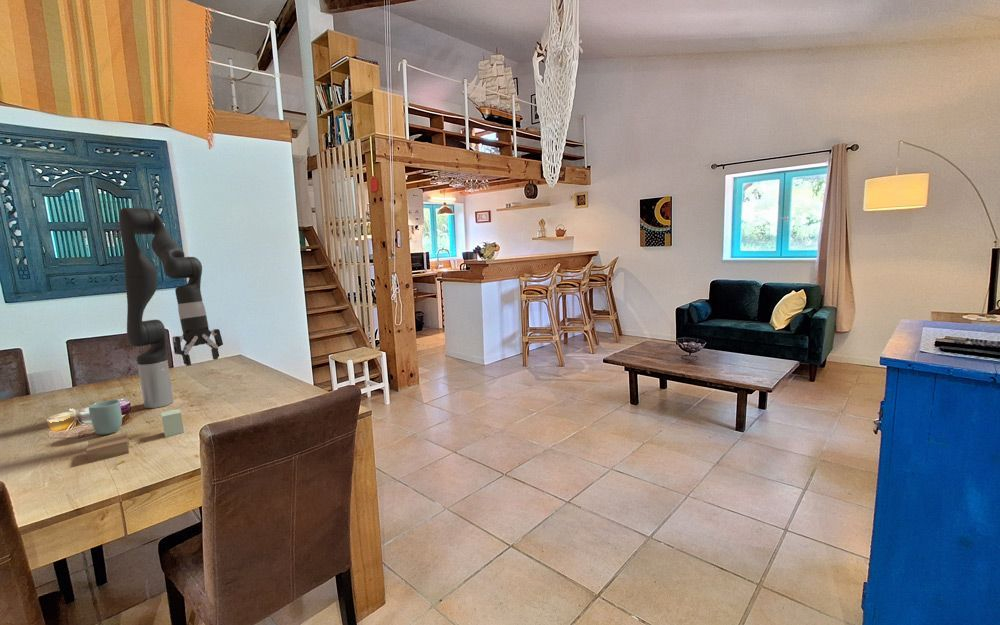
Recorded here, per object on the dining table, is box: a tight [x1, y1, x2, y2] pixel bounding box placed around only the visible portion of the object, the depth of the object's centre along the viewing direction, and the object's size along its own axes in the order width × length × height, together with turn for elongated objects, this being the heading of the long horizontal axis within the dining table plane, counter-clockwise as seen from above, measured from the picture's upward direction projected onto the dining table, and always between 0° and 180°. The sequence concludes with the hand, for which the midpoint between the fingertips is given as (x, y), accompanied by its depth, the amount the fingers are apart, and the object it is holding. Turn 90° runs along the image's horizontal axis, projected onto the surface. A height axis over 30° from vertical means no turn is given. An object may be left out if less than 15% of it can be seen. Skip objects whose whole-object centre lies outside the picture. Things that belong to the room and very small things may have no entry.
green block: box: [161, 408, 185, 438], centre depth 148 cm, size 5×5×7 cm
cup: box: [88, 399, 123, 436], centre depth 150 cm, size 8×8×10 cm
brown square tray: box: [86, 432, 130, 464], centre depth 135 cm, size 9×9×4 cm
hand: (202, 362), depth 155 cm, fingers open, 8 cm apart
